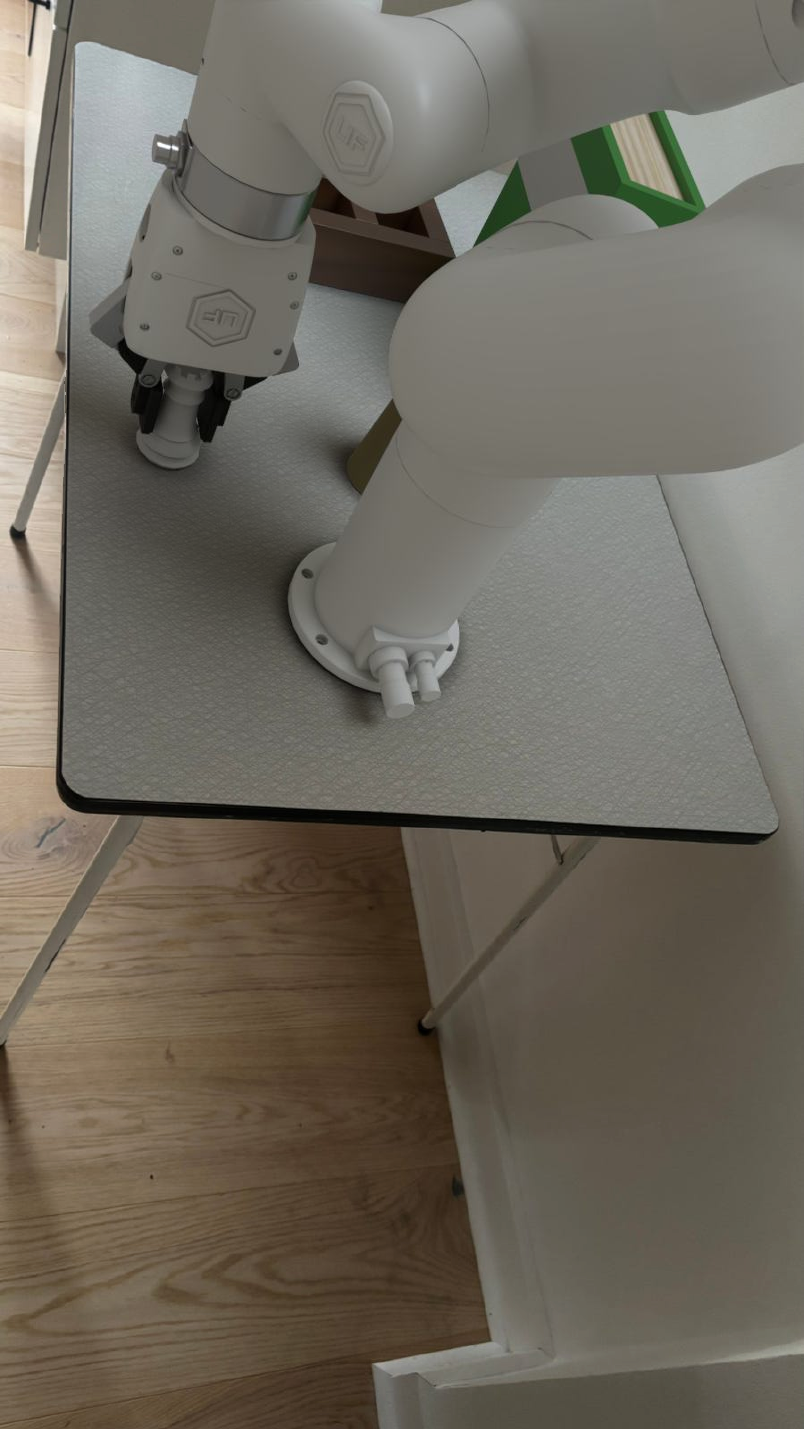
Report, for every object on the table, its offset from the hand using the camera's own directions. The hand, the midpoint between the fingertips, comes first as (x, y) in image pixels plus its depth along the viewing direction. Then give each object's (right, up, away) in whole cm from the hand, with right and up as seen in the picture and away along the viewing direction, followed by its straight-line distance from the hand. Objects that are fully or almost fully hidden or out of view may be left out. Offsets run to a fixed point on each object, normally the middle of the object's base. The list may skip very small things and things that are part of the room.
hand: (174, 421), depth 70 cm
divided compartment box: (+9, +25, +25) cm, 36 cm away
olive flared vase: (+14, -2, +10) cm, 17 cm away
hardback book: (+24, +10, +22) cm, 34 cm away
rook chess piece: (-1, -1, +2) cm, 3 cm away
